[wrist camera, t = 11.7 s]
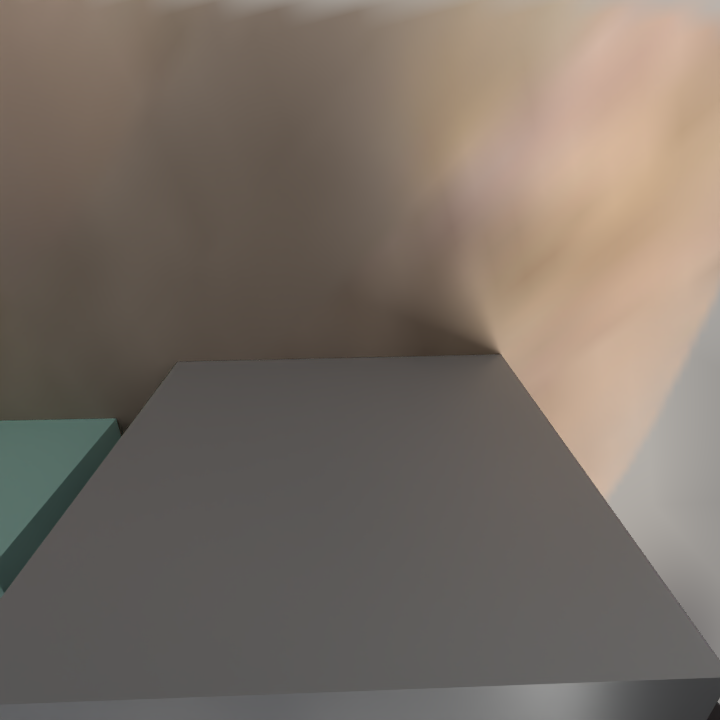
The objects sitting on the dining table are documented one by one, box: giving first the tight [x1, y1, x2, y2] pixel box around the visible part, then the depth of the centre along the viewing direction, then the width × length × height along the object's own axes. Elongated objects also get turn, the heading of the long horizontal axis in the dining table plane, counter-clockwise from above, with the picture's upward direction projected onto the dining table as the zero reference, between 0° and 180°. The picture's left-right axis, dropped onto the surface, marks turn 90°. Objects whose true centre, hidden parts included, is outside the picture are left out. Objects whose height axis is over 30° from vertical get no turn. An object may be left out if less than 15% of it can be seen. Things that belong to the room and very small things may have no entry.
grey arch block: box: [0, 354, 720, 720], centre depth 8 cm, size 7×7×6 cm
